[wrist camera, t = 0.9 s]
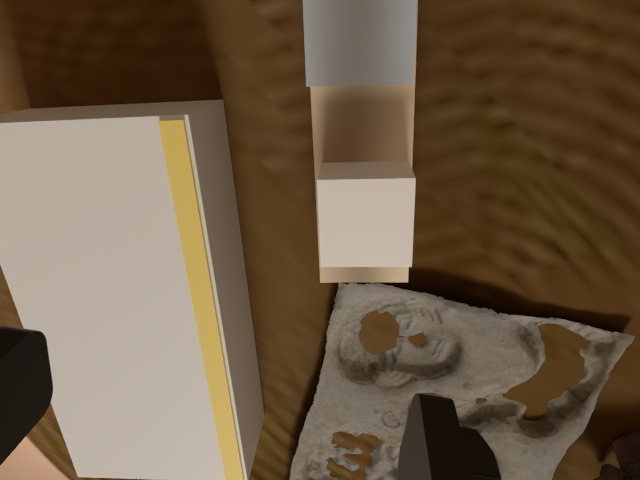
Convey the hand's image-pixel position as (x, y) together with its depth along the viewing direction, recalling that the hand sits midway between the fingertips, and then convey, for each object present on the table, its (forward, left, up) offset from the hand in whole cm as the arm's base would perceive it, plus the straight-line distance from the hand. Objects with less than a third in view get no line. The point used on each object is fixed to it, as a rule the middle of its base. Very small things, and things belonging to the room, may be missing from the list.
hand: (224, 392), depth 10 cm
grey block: (-3, -7, -16) cm, 18 cm away
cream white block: (-3, +1, -16) cm, 16 cm away
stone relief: (-7, +25, -20) cm, 33 cm away
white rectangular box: (+11, +8, -20) cm, 24 cm away
